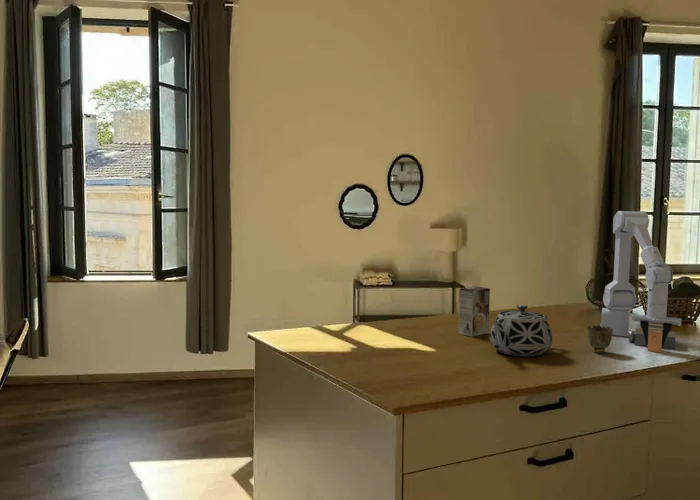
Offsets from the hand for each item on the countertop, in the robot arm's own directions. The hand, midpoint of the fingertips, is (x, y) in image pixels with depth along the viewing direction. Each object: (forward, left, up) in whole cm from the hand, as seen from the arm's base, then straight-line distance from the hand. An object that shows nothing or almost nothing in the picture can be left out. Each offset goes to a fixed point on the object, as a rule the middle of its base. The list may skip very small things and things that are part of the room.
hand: (654, 345), depth 226 cm
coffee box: (-58, -3, -2) cm, 58 cm away
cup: (-16, -11, -2) cm, 19 cm away
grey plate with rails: (0, +10, -2) cm, 10 cm away
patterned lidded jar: (-39, -23, -2) cm, 45 cm away
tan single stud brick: (0, 0, -2) cm, 2 cm away
